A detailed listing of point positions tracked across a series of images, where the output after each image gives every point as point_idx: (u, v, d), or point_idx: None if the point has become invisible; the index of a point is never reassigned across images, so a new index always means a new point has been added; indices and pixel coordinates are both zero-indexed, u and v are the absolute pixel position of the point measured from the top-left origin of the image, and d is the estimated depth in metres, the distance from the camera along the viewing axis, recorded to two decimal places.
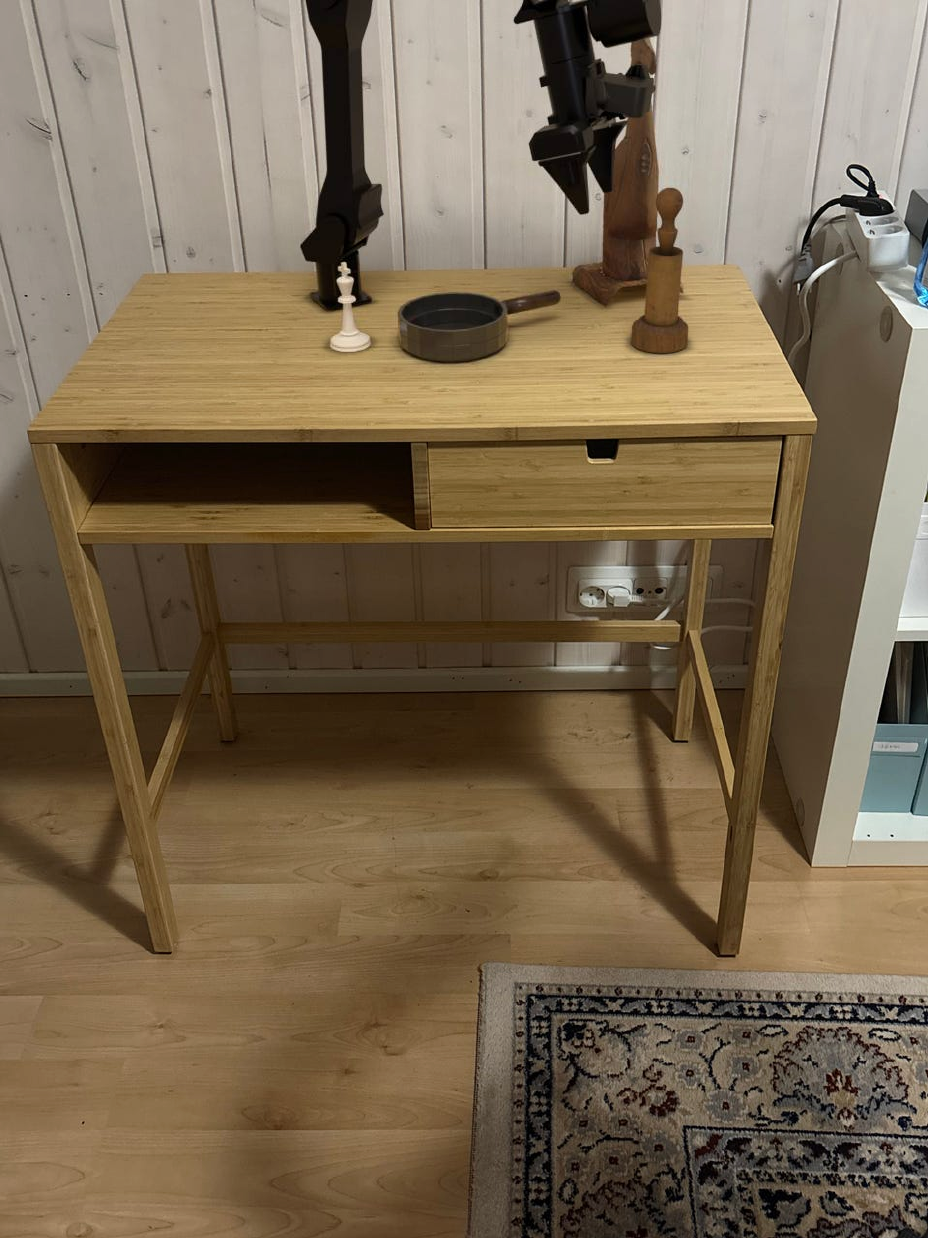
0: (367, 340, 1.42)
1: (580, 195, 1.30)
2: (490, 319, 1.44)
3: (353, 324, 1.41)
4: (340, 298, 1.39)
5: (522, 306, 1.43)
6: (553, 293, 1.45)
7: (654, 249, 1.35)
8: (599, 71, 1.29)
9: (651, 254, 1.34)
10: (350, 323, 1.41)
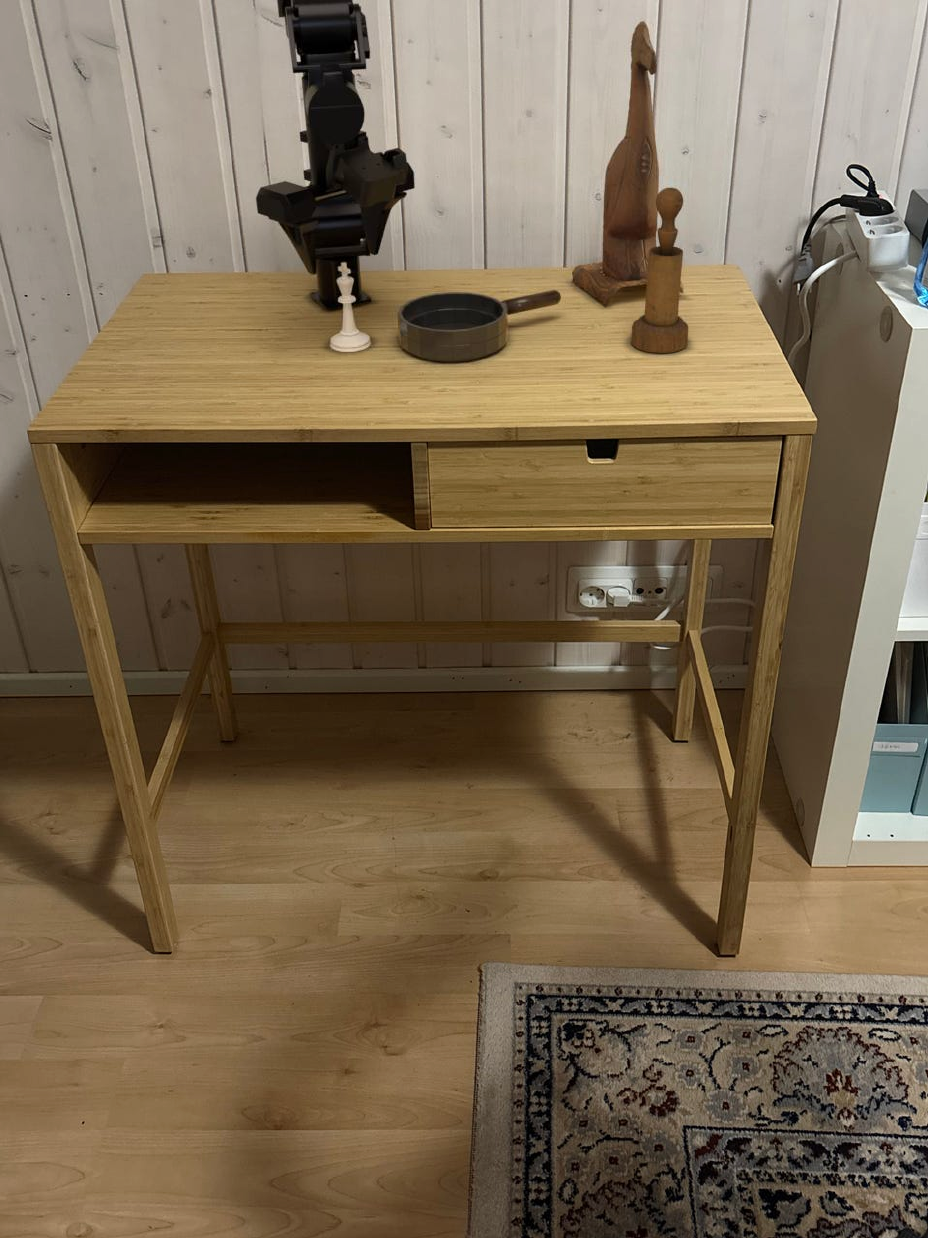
0: (367, 340, 1.42)
1: (306, 256, 1.33)
2: (490, 319, 1.44)
3: (353, 324, 1.41)
4: (340, 298, 1.39)
5: (522, 306, 1.43)
6: (553, 293, 1.45)
7: (654, 249, 1.35)
8: (356, 145, 1.28)
9: (651, 254, 1.34)
10: (350, 322, 1.41)
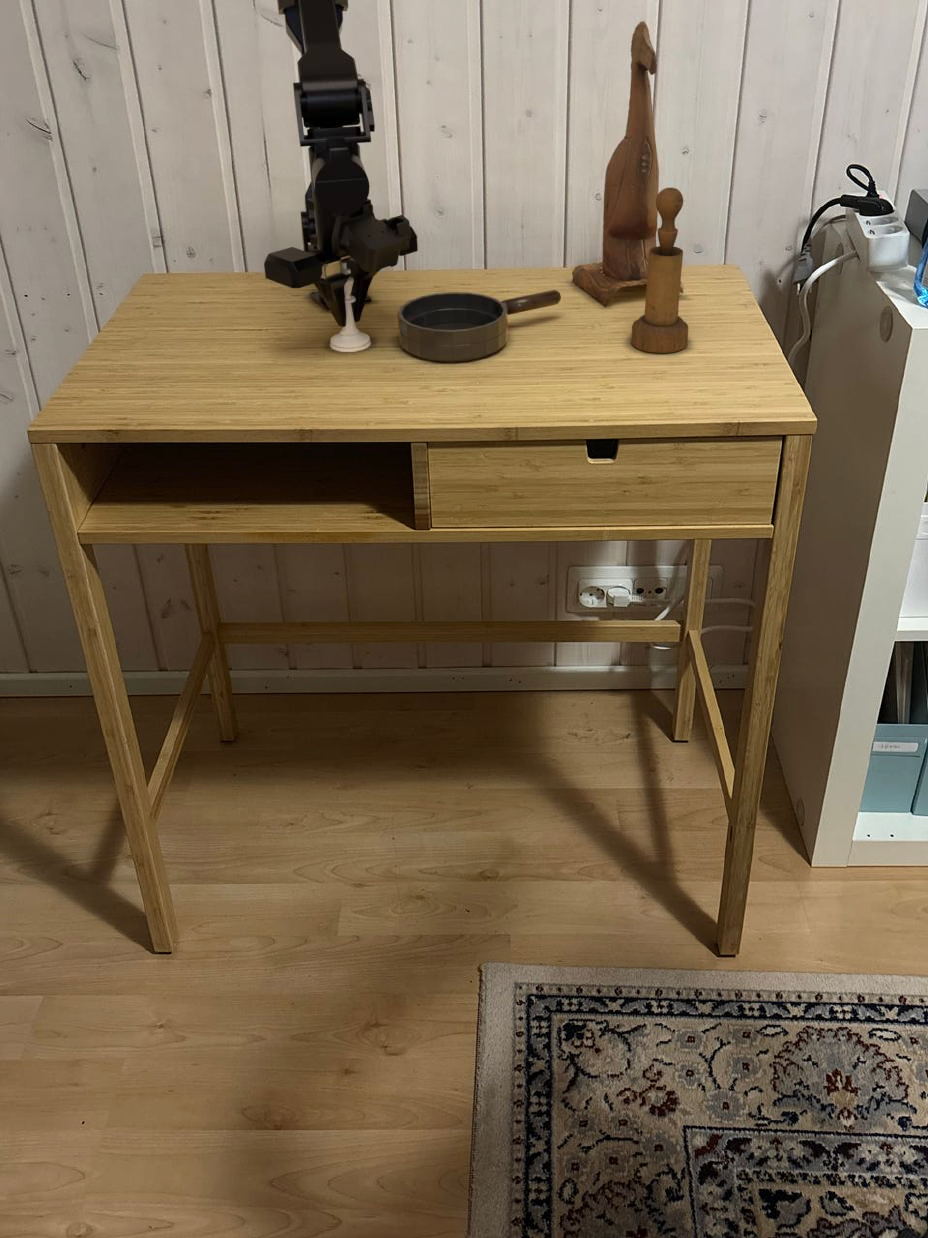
0: (367, 340, 1.42)
1: (336, 310, 1.39)
2: (490, 319, 1.44)
3: (353, 324, 1.41)
4: None
5: (522, 306, 1.43)
6: (553, 293, 1.45)
7: (654, 249, 1.35)
8: (361, 212, 1.32)
9: (651, 254, 1.34)
10: (350, 323, 1.41)
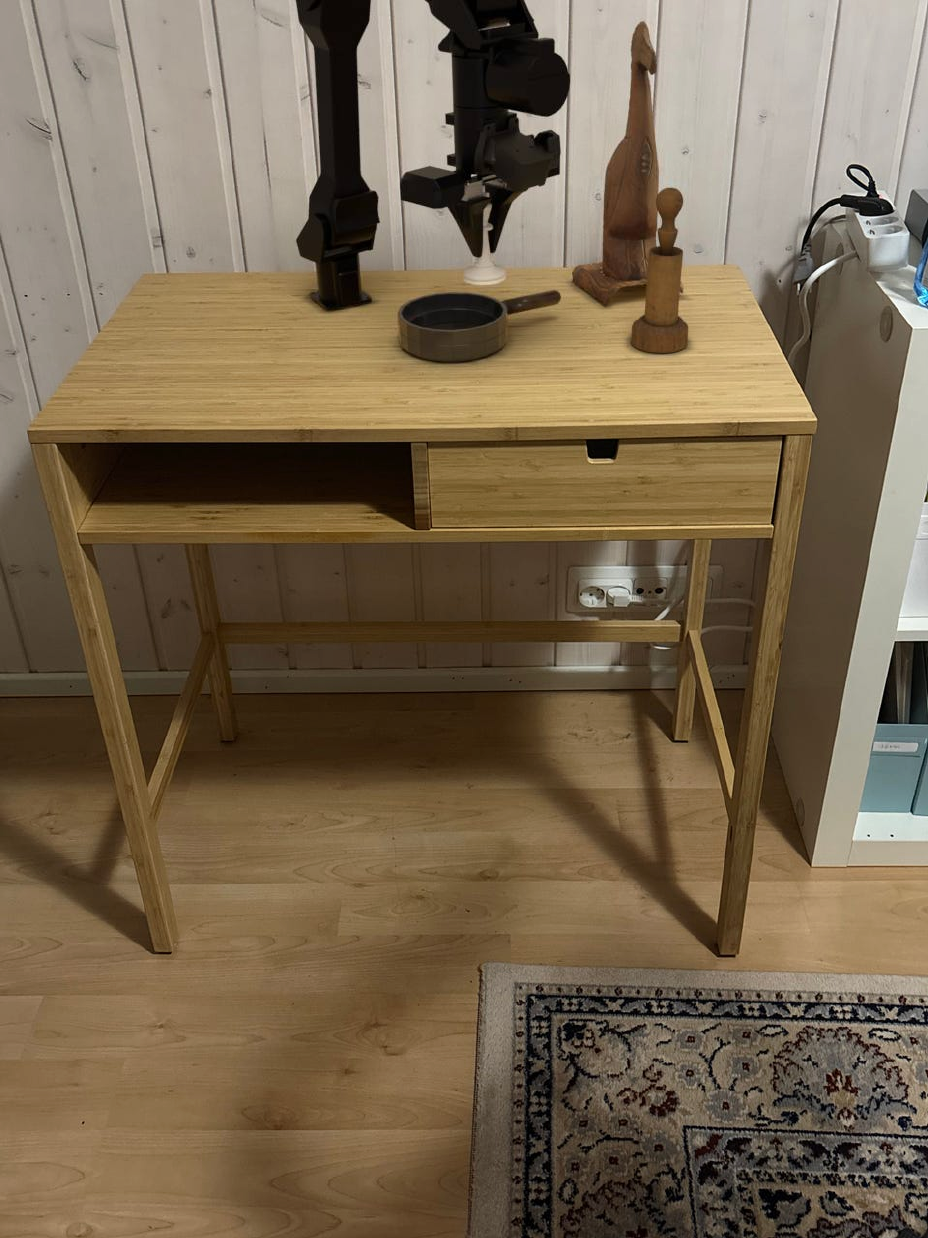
0: (503, 272, 1.30)
1: (472, 238, 1.27)
2: (490, 319, 1.44)
3: (489, 255, 1.29)
4: None
5: (522, 306, 1.43)
6: (553, 293, 1.45)
7: (654, 249, 1.35)
8: (507, 127, 1.21)
9: (651, 254, 1.34)
10: (485, 253, 1.29)
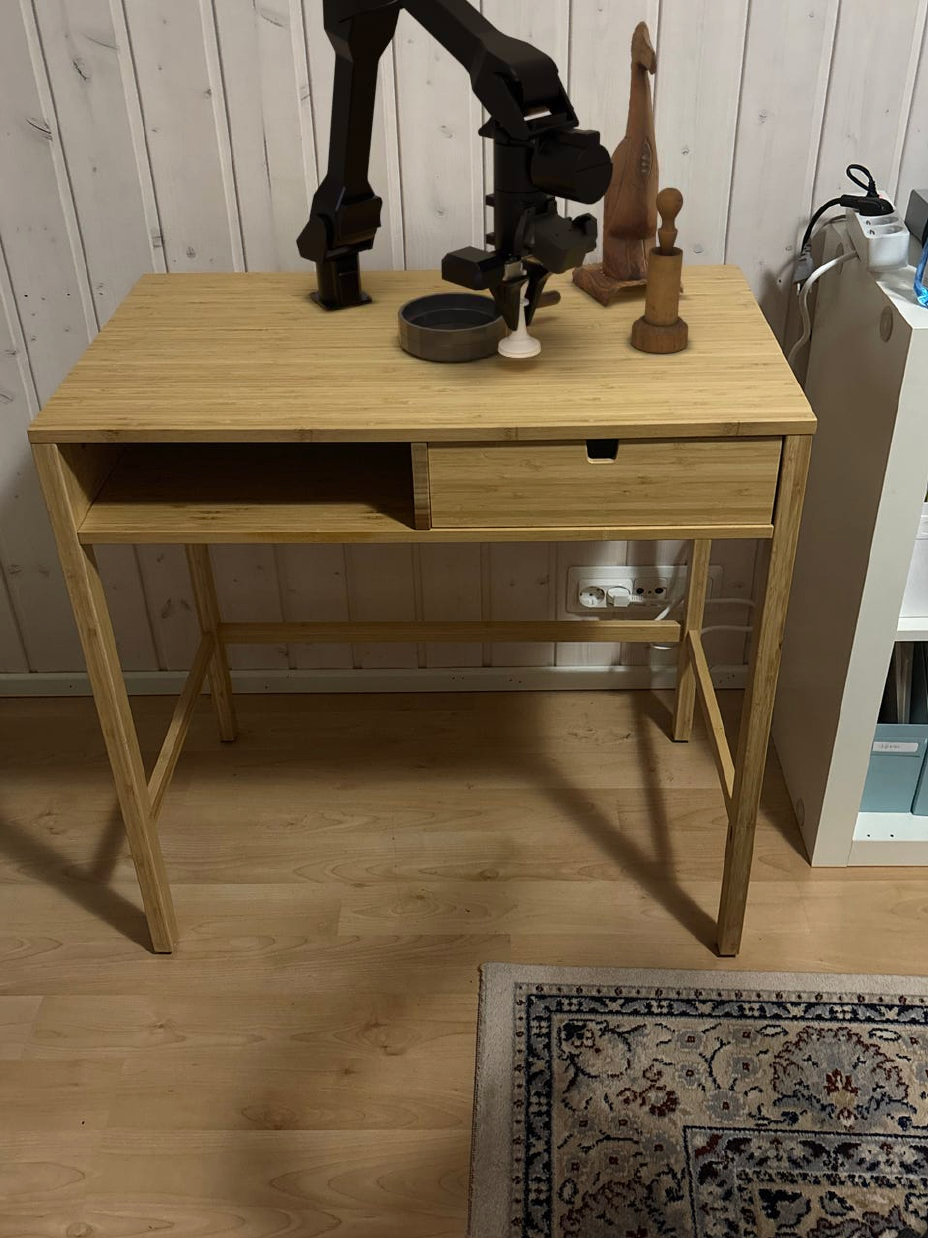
0: (538, 345, 1.34)
1: (509, 313, 1.31)
2: (490, 319, 1.44)
3: (524, 328, 1.33)
4: None
5: None
6: (553, 293, 1.45)
7: (654, 249, 1.35)
8: (546, 210, 1.24)
9: (651, 254, 1.34)
10: (521, 327, 1.32)
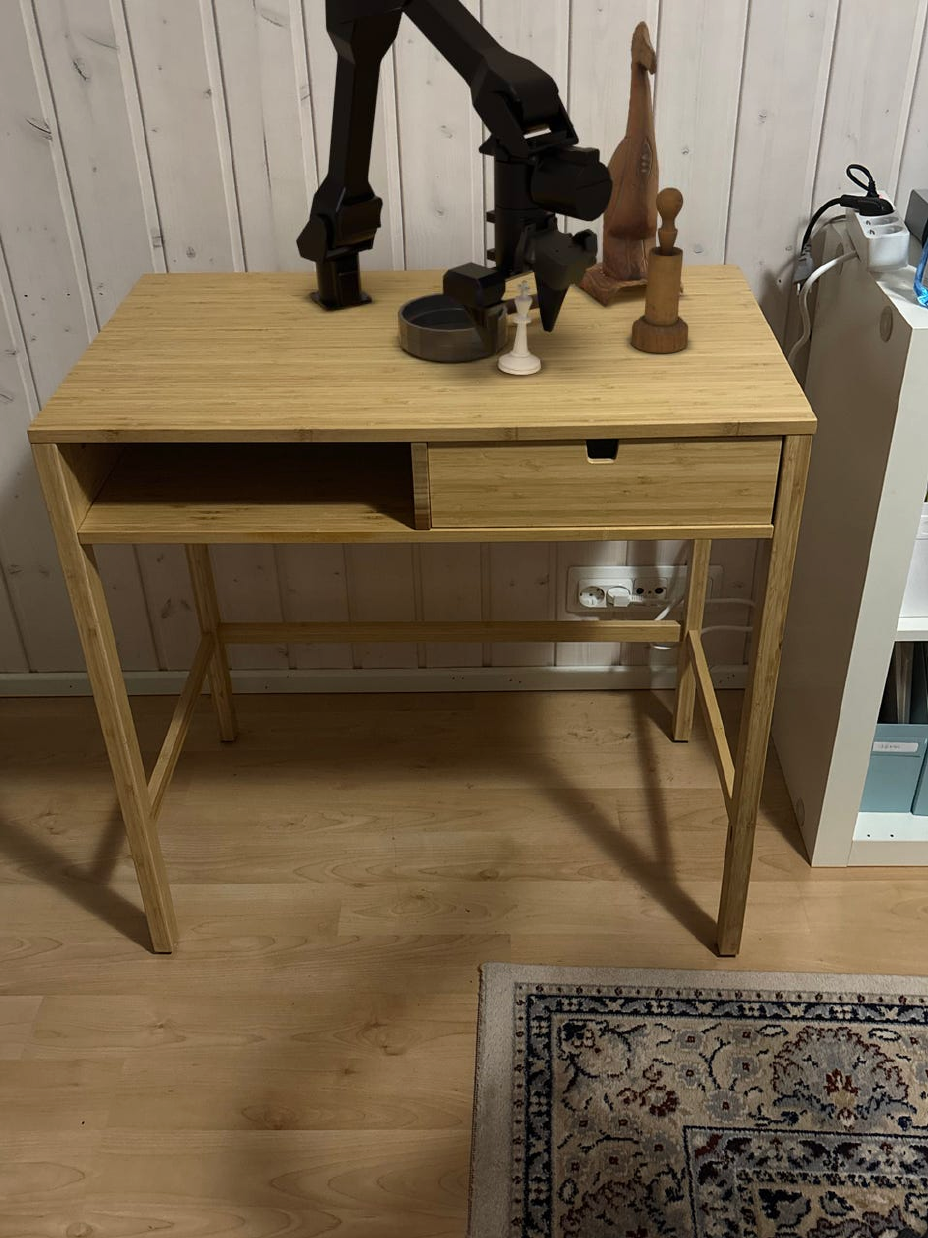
0: (539, 363, 1.35)
1: (487, 337, 1.29)
2: None
3: (526, 345, 1.34)
4: (516, 318, 1.32)
5: None
6: None
7: (654, 249, 1.35)
8: (546, 226, 1.25)
9: (651, 254, 1.34)
10: (523, 344, 1.34)
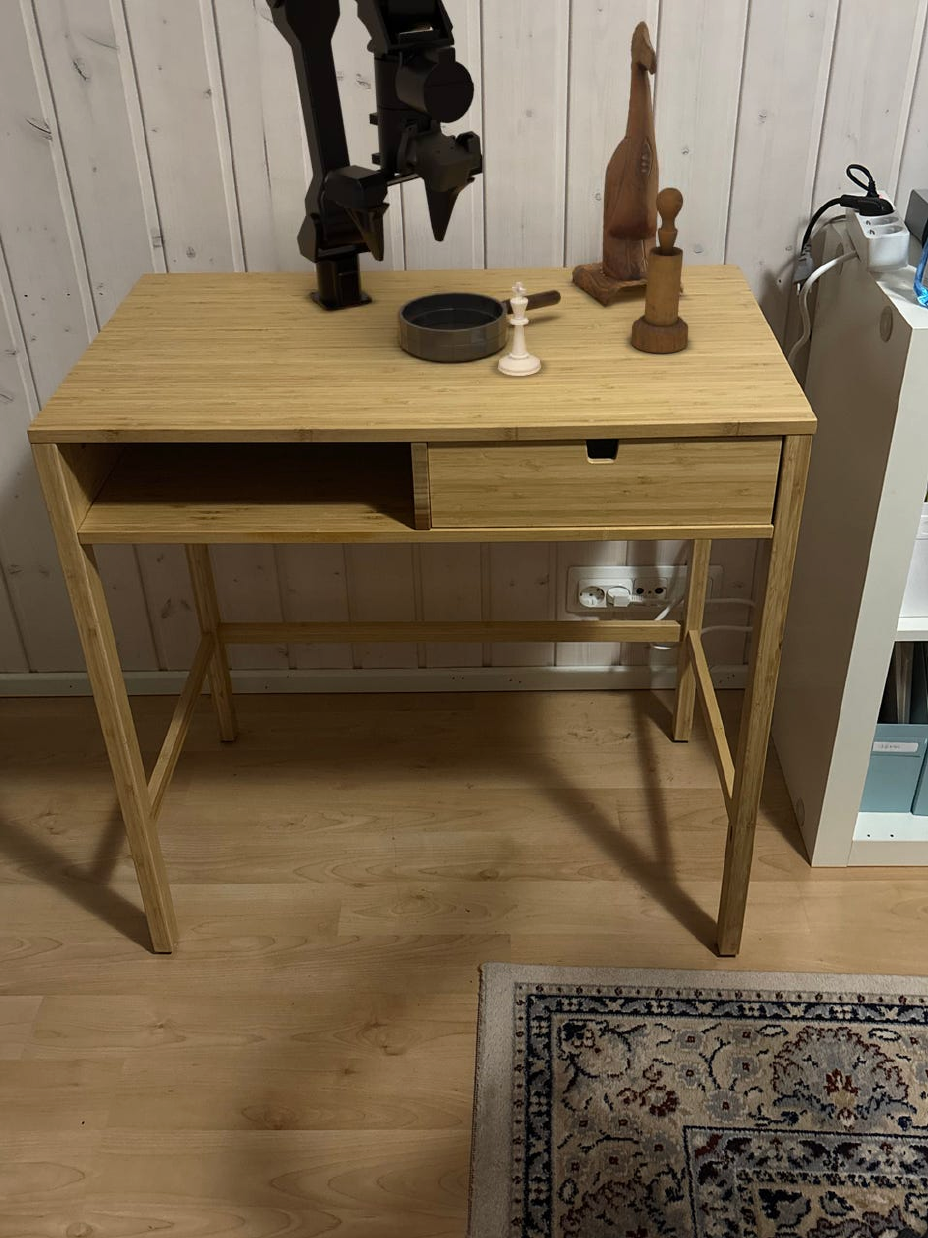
0: (538, 363, 1.35)
1: (373, 243, 1.29)
2: (490, 319, 1.44)
3: (524, 346, 1.34)
4: (513, 320, 1.32)
5: None
6: (553, 293, 1.45)
7: (654, 249, 1.35)
8: (429, 128, 1.24)
9: (651, 254, 1.34)
10: (521, 345, 1.34)
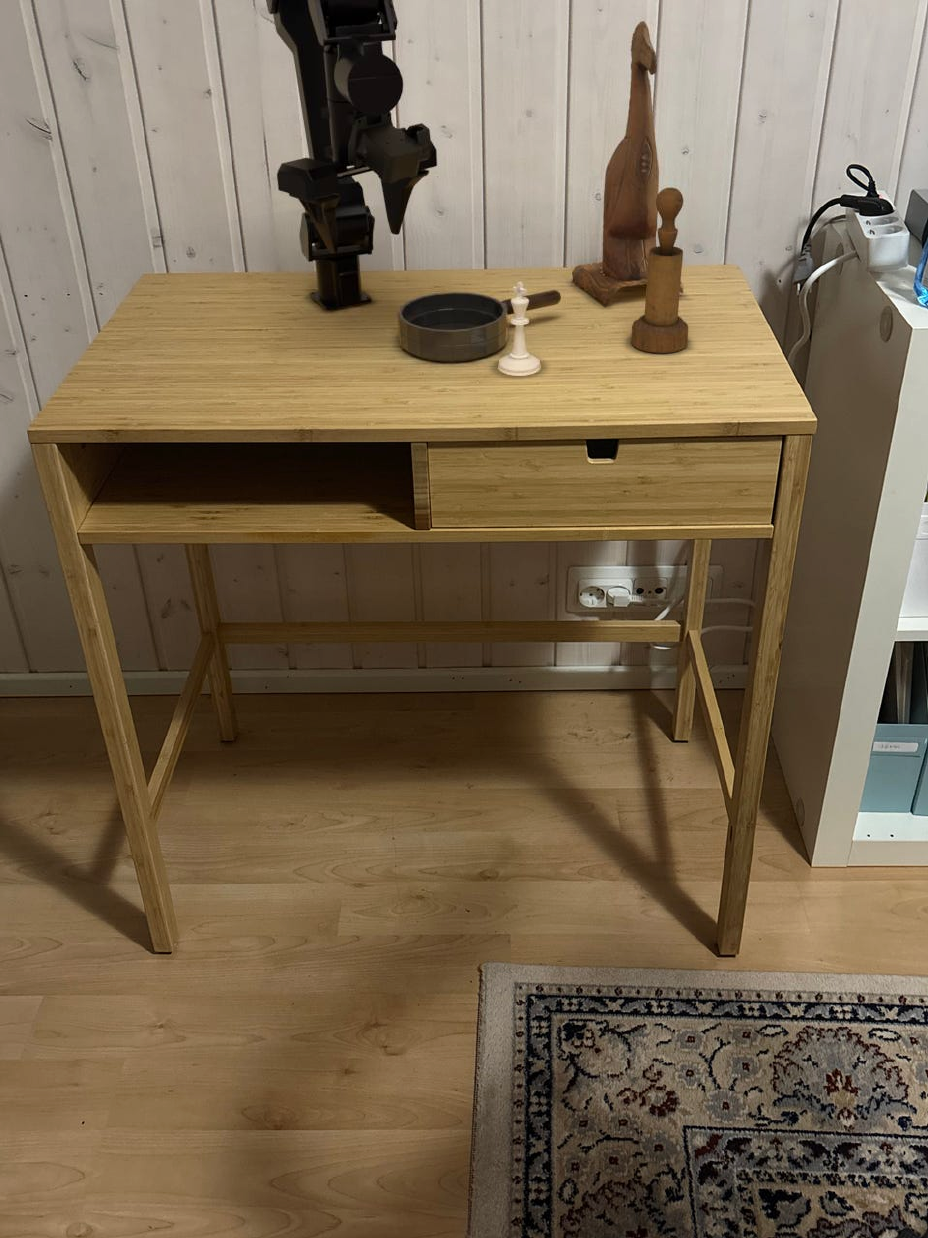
0: (538, 363, 1.35)
1: (327, 235, 1.30)
2: (490, 319, 1.44)
3: (525, 346, 1.34)
4: (513, 320, 1.32)
5: None
6: (553, 293, 1.45)
7: (654, 249, 1.35)
8: (379, 120, 1.26)
9: (651, 254, 1.34)
10: (522, 345, 1.34)
